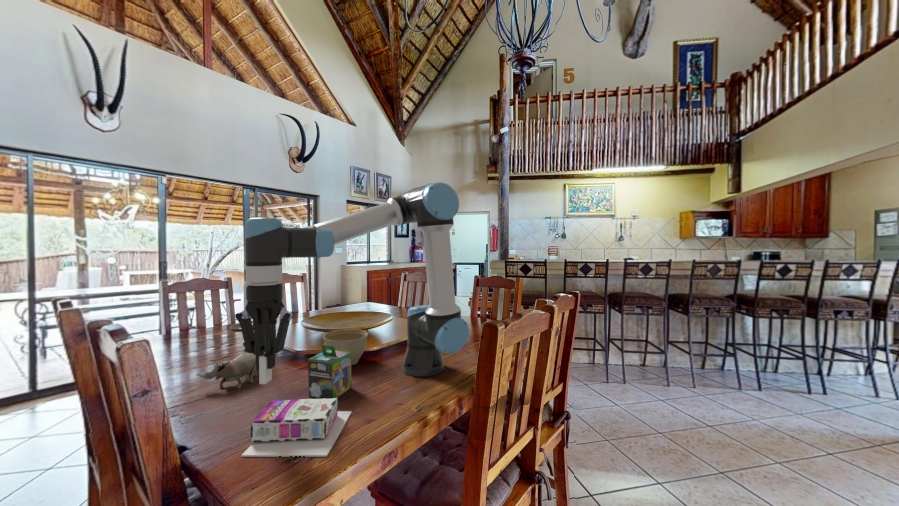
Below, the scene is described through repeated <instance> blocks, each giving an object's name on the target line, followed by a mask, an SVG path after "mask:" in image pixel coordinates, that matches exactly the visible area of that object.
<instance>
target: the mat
mask: <svg viewBox="0 0 899 506" xmlns="http://www.w3.org/2000/svg"><path fill="white" fill-rule="evenodd" d="M352 413H353V412H352V410H344V411H343V410H342V411H341V410H337V417H336V419H335V421H334V423H333V425H332V427H331V429H330V431H329V433H328V435H327V437H326V439H320V440H297V441H272V442H252V444H250V445H249V447H248V448H247V449H246V450H245V451H244V452H243V453H242V454H241V458H243V457H244V458H245V457H246V458H247V457H248V458H249V457H251V458H254V457H255V458H256V457H257V458H261V457H262V458H265V457H266V458H268V457H269V458H270V457H271V458H285V457H286V458H287V457H289V458H296V457H295V456H297V458H301V457H302V458H303V456H305V457H306V458H311V457H312V458H314V457H315V458H318V457H320V458H323V457H324V458H325V457H326V458H327V457H328V456H329V453H330V452H331V450H332V449H333V447H334V445H335V443H336V442H337V439H338V438H339V436H340V434H341V433H342V431H343V430H344V428H345V426H346V424H347V422H348V421H349V418H350V417H351V415H352ZM279 456H281V457H279ZM290 456H292V457H290ZM299 456H301V457H299ZM305 457H304V458H305Z"/></svg>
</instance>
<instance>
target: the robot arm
mask: <svg viewBox="0 0 899 506" xmlns="http://www.w3.org/2000/svg"><path fill="white" fill-rule="evenodd" d="M459 209H460V200H459V196H458V194H457V192H456V190H455V189H453V188H452V186H450V185H449V184H448V183H446V182H442V181H441V182H439V181H438V182H430V183H428V184H425V185H421V186H419V187H414V188H412V189H410V190H408V191H406V192H404V193H402V194H400V195H397V196H394V197H391V198H388V200H387V201H386V202H385V203H381V204H378V205H375V206H372V207H368V208H365V209H362V210H358V211H355V212H352V213H348V214H345V215H342V216H338V217H336V218H331V219H328V220H326V221H322V222H318V223H315V224H313V225H312V224H311V225H309V226H306V227H286V226H284V225H283V222H282V220H281V219H279V218H275V217H274V218H273V217H272V218H271V217H251V218H248V219H247V220H246V222H245V231H244V232H245V235H244V236H245V237H244V243H245V244H244V246H245V248H244V249H245V273H246V274H245V275H246V276H245V277H246V278H245V280H246V282H247V283H249V285H247V286H246V300H247V305H246V307H245V310H244V309H243V310H242V311H241V312H238V313H235V315H234V317H235V318H236V320H237V322H238V324H240V327H241V331H242V332H241V334H242V337H243V343H244V342H245V346H246V350H247V353H252V354H254V355H255V356H256V368H255V369H256V370H258V373H259V374H258V377H259V379H258V380H259V381H258V382H259V383H258V384H259V385H266V384H268V383H269V382H270V381H272V380H273V368H275V366H276V354H278V353H279V352H281V351H283V350H284V347H285V344H286V339H287V335H288V332H289V331H288V330H289V327H290V322H291V320H292V318H293V317H294V316H295V313H294V311H289V310H287V309H286V308H285V305H284V302H283V296H284V295H283V294H284V293H283V291H284V290H283V284H282V283H281V282H282V281H283V259H289V258H294V259H295V258H317V259H320V258H328V257H331V256H332V255H333V254H334V251H335V245H339V244H341V243H344V242H347V241H350V240H352V239H356V238H358V237H361V236H365V235H368V234H370V233H374V232H377V231H379V230H382V229H385V228H388V227H391V226H393V225H395V226H396V227H401V226H403V225H407V224H412V223H416V224H417V226H416V227H417V229H419V231H421V232H422V238H423V239H422V240H423V249H424V251H423V252H424V261H425V262H424V263H425V272H426V282H427V283H426V284H427V295H428V296H427V297H428V304H426V305H425V304H422V305H416V306H415V305H414V306H411V307H409V308H408V309H407V314H406V315H407V317H406V320H407V323H406V324H407V329H406V331H407V333H406V334H407V337H406V338H407V344H406V345H407V347H406V352H405V354H404V357H403V361H402V368H401V369H402V371H403V373H405V374H406V375H409V376H413V377H420V378H421V377H422V378H423V377H431V376H436V375H439V374H440V373H442V372H443V371H444V370H445V360H444V358H443V355H442V353H445V354H451V355H452V354H454V353H458V352H459V351H460V350H461V349H463V348H464V347H465V346H464V345H465V344H466V343H467V341H468V339H469V336H470V335H469V334H470V327H469V325H468V323H467V322H466V321H465V320H464V319H463V318H462V310H461V307H460V306H459V305H458V304H457V303H456V294H455V293H456V292H455V281H454V271H453V259H452V258H453V257H452V247H451V246H452V245H451V233H450V230H451V229H452V228H453V227H454V217H455V216H456V215H457V212H459ZM250 317H251V318H252V319H250ZM279 317H280V318H279ZM278 318H279V319H281V320H280V322H279V324H278ZM252 322H253V326H252ZM277 324H278V328H277ZM253 327H254V330H253Z"/></svg>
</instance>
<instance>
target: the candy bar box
mask: <svg viewBox="0 0 899 506" xmlns="http://www.w3.org/2000/svg"><path fill="white" fill-rule="evenodd" d="M337 411H338V398H323V399H322V398H300V399H299V398H296V399H294V398H293V399H292V398H291V399H273V400H271V402H269V403H268V404H267V406H265V407H264V409H262V411H261V412H259V413H258V415H257V416H256V417H255V418H254V419H253V420H252V421H250V442H251V443H252V444H253V443H254V442H272V441H297V440H320V439H326V437H327V435H328V433H329V431H330V429H331V427H332V425H333V423H334V421H335V419H336V417H337Z"/></svg>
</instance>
